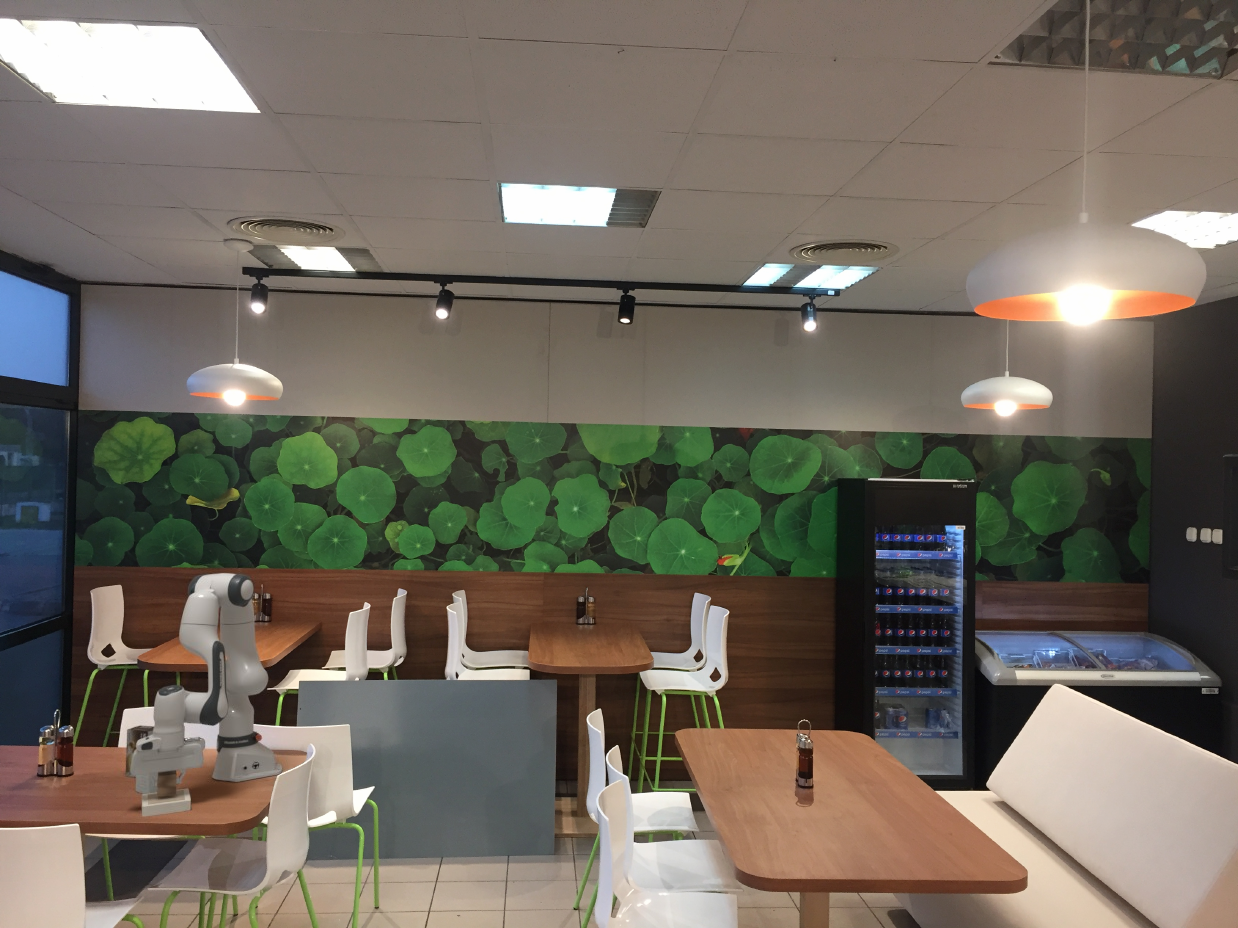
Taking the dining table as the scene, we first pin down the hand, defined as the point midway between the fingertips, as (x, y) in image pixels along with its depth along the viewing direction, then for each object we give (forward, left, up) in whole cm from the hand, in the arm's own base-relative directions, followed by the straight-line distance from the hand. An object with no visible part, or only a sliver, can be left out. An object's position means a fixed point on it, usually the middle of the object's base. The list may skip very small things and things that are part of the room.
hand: (166, 785), depth 269 cm
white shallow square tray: (0, 0, -7) cm, 7 cm away
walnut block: (0, 0, -2) cm, 2 cm away
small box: (+4, -19, -7) cm, 21 cm away
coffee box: (+6, -40, -7) cm, 41 cm away
